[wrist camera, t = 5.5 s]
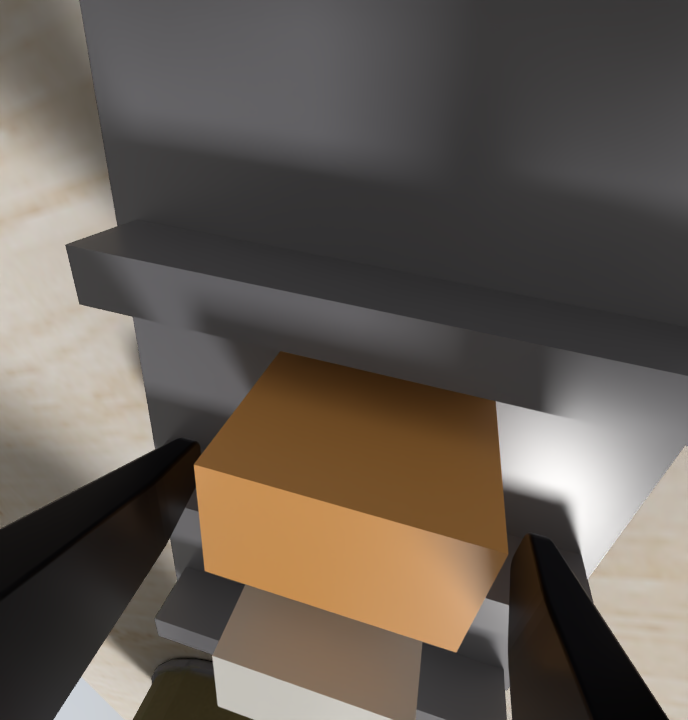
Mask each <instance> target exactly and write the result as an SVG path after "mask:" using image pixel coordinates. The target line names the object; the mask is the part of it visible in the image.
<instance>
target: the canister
mask: <svg viewBox="0 0 688 720" xmlns="http://www.w3.org/2000/svg"><path fill="white" fill-rule="evenodd" d="M133 720H254V719H251V718H248V717H246V716H243V715H240V714H238V713H235V712H232V711H229V710H227V709H224V708H221V707H219V706H218V704H217V695H216V686H215V677H214V668H213V662H209V661H204V660H199V659H172V660H170V661H168V662H166V663H164V664H162V665H160V666H158V667H157V669H156V670H155V672H154V674H153V676H152V685H151V687H150V689H149V691H148V693H147V695H146V696H145V698H144V700H143V702H142V704H141V706H140V707H139V709H138V711H137V713H136V715H135V717H134V718H133Z"/></svg>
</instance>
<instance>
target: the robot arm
mask: <svg viewBox="0 0 688 720" xmlns="http://www.w3.org/2000/svg"><path fill="white" fill-rule="evenodd" d="M200 456H201V447H200V444H199V442H198V441H196V440H192V439H188V438H185V437H180V438H177V439H175V440H173V441H171V442H169V443H167V444H165V445H163V446H161V447H159V448H157V449H155V450H153V451H151V452H149V453H147V454H145V455H143V456H141V457H139V458H137V459H136V460H134V461H132V462H130V463H128V464H126V465H124V466H122V467H120V468H118V469H116V470H114V471H112V472H110V473H108V474H106V475H104V476H102V477H100V478H98V479H97V480H95V481H93V482H91V483H89V484H87V485H85V486H83V487H81V488H79V489H77V490H75V491H73V492H71V493H69V494H67V495H65V496H63V497H61V498H59V499H57V500H56V501H54V502H52V503H50V504H48V505H46V506H44V507H42V508H40V509H38V510H36V511H34V512H32V513H30V514H28V515H26V516H24V517H22V518H20V519H18V520H17V521H15V522H13V523H11V524H9V525H7V526H5V527H3V528H1V529H0V720H53V719H54V718H55V716H56V715H57V713H58V712H59V710H60V708H61V707H62V705H63V704H64V702H65V701H66V699H67V698H68V696H69V695H70V693H71V691H72V690H73V688H74V687H75V685H76V684H77V682H78V681H79V679H80V678H81V676H82V675H83V673H84V671H85V670H86V668H87V667H88V665H89V664H90V662H91V661H92V659H93V658H94V656H95V654H96V653H97V651H98V650H99V648H100V647H101V645H102V644H103V642H104V641H105V639H106V637H107V636H108V634H109V633H110V631H111V630H112V628H113V627H114V625H115V624H116V622H117V620H118V619H119V617H120V616H121V614H122V613H123V611H124V610H125V608H126V607H127V605H128V603H129V602H130V600H131V599H132V597H133V596H134V594H135V593H136V591H137V590H138V588H139V586H140V585H141V583H142V582H143V580H144V579H145V577H146V576H147V574H148V573H149V571H150V569H151V568H152V566H153V565H154V563H155V562H156V560H157V559H158V557H159V556H160V554H161V552H162V551H163V549H164V547H165V546H166V544H167V542H168V540H169V539H170V537H171V535H172V533H173V531H174V529H175V527H176V525H177V523H178V521H179V519H180V517H181V515H182V513H183V511H184V509H185V508H186V506H187V504H188V502H189V500H190V498H191V496H192V494H193V492H194V490H195V488H196V481H195V471H194V464H195V462H196V461H197V460H198V458H199V457H200ZM508 668H509V682H510V695H511V708H512V720H669V719H668V717H667V716H666V714H665V713H664V711H663V710H662V708H661V707H660V705H659V703H658V702H657V700H656V699H655V697H654V696H653V694H652V693H651V691H650V690H649V688H648V687H647V685H646V684H645V682H644V680H643V679H642V677H641V676H640V674H639V673H638V671H637V670H636V668H635V667H634V665H633V664H632V662H631V660H630V659H629V657H628V656H627V654H626V653H625V651H624V650H623V648H622V647H621V645H620V644H619V642H618V641H617V639H616V637H615V636H614V634H613V633H612V631H611V630H610V628H609V627H608V625H607V624H606V622H605V621H604V619H603V618H602V616H601V614H600V613H599V611H598V610H597V608H596V607H595V605H594V604H593V602H592V601H591V599H590V598H589V596H588V594H587V593H586V591H585V590H584V588H583V587H582V585H581V584H580V582H579V581H578V579H577V578H576V576H575V575H574V573H573V571H572V570H571V568H570V567H569V565H568V564H567V562H566V561H565V559H564V558H563V556H562V555H561V553H560V551H559V550H558V548H557V547H556V545H555V544H554V542H553V541H552V540H551V539H550V538H548V537H546V536H542V535H538V534H535V533H530V532H529V533H527V534H525V536H524V537H523V539H522V541H521V543H520V545H519V547H518V548H517V550H516V552H515V554H514V556H513V558H512V561H511V567H510V592H509V622H508Z"/></svg>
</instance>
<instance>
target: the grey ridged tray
mask: <svg viewBox="0 0 688 720" xmlns="http://www.w3.org/2000/svg"><path fill="white" fill-rule="evenodd" d="M79 1H80V7H81V13H82V19H83V24H84V30H85V36H86V42H87V48H88V54H89V60H90V66H91V72H92V78H93V84H94V90H95V96H96V101H97V107H98V113H99V119H100V125H101V131H102V137H103V143H104V149H105V155H106V161H107V167H108V173H109V179H110V184H111V190H112V196H113V202H114V208H115V214H116V220H117V227H114V228H111V229H108V230H106V231H103V232H100V233H97V234H94V235H92V236H89V237H86V238H83V239H80V240H77V241H75V242H72V243H69V244H66V245H65V246H66V250H67V254H68V258H69V262H70V267H71V271H72V275H73V279H74V283H75V287H76V292H77V296H78V300H79V304H81V305H85V306H89V307H93V308H98V309H102V310H106V311H111V312H115V313H119V314H124V315H128V316H132V317H133V321H134V327H135V333H136V339H137V344H138V350H139V356H140V362H141V368H142V374H143V380H144V386H145V392H146V398H147V404H148V410H149V416H150V422H151V427H152V433H153V439H154V445H155V449H157V448H159V447H161V446H163V445H165V444H167V443H169V442H171V441H173V440H175V439H177V438H180V437H185V438H188V439H192V440H196V441H198V442H199V444H200V447H201V454H202V453H203V452H204V450H205V449H206V448H207V446H208V445H209V444H210V443H211V441H212V440H213V439H214V437H215V436H216V435H217V433H218V432H219V431H220V429H221V428H222V427H223V425H224V424H225V423H226V422H227V420H228V419H229V418H230V416H231V415H232V414H233V412H234V411H235V410H236V408H237V407H238V406H239V404H240V403H241V402H242V401H243V399H244V398H245V397H246V395H247V394H248V393H249V391H250V390H251V389H252V387H253V386H254V385H255V383H256V382H257V381H258V380H259V378H260V377H261V376H262V374H263V373H264V372H265V370H266V369H267V368H268V366H269V365H270V364H271V362H272V361H273V360H274V359H275V357H276V356H277V355H278V353H279V352H280V351H282V352H287V353H291V354H295V355H299V356H304V357H308V358H312V359H317V360H321V361H325V362H330V363H334V364H338V365H342V366H347V367H351V368H355V369H360V370H364V371H368V372H372V373H377V374H381V375H385V376H390V377H394V378H398V379H402V380H407V381H411V382H415V383H420V384H424V385H428V386H432V387H437V388H441V389H445V390H450V391H454V392H458V393H463V394H467V395H471V396H475V397H480V398H484V399H488V400H493V401H496V411H497V423H498V435H499V447H500V458H501V470H502V482H503V494H504V506H505V518H506V530H507V542H508V556H507V558H506V560H505V562H504V564H503V566H502V567H501V569H500V571H499V573H498V575H497V577H496V579H495V581H494V583H493V584H492V586H491V588H490V590H489V592H488V594H487V596H486V598H485V600H484V601H483V603H482V605H481V607H480V609H479V611H478V613H477V615H476V616H475V618H474V620H473V622H472V624H471V626H470V628H469V630H468V632H467V633H466V635H465V637H464V639H463V641H462V643H461V645H460V647H459V649H458V650H457V652H453V651H450V650H447V649H444V648H440V647H437V646H434V645H431V644H428V643H425V642H422V653H421V664H420V675H419V686H418V697H417V709H416V720H507V716H506V699H505V690H508V688H509V687H510V682H509V668H508V622H509V592H510V567H511V561H512V558H513V556H514V554H515V552H516V550H517V548H518V547H519V545H520V543H521V541H522V539H523V537H524V536H525V534H527V533H529V532H530V533H535V534H538V535H542V536H546V537H548V538H550V539H551V540H552V541H553V542H554V544H555V545H556V547H557V548H558V550H559V551H560V553H561V555H562V556H563V558H564V559H565V561H566V562H567V564H568V565H569V567H570V568H571V570H572V571H573V573H574V575H575V576H576V578H577V579H578V581H579V582H580V584H581V585H582V587H583V588H584V590H585V591H586V593H587V594H588V596H589V598H590V599H591V601H592V602H593V599H592V595H591V591H590V587H589V583H588V578H589V577H590V576H591V574H592V573H593V571H594V570H595V569H596V567H597V566H598V565H599V563H600V562H601V560H602V559H603V558H604V556H605V555H606V554H607V552H608V551H609V549H610V548H611V547H612V545H613V544H614V543H615V541H616V540H617V538H618V537H619V536H620V534H621V533H622V532H623V530H624V529H625V527H626V526H627V525H628V523H629V522H630V521H631V519H632V518H633V516H634V515H635V514H636V512H637V511H638V510H639V508H640V507H641V505H642V504H643V503H644V501H645V500H646V499H647V497H648V496H649V494H650V493H651V492H652V490H653V489H654V488H655V486H656V485H657V483H658V482H659V481H660V479H661V478H662V477H663V475H664V474H665V472H666V471H667V470H668V468H669V467H670V466H671V464H672V463H673V461H674V460H675V459H676V457H677V456H678V455H679V453H680V452H681V450H682V449H683V448H684V446H685V445H686V446H688V0H79ZM170 540H171V546H172V552H173V558H174V564H175V570H176V576H177V582H176V584H175V586H174V587H173V589H172V591H171V592H170V594H169V596H168V597H167V599H166V600H165V602H164V604H163V605H162V607H161V609H160V610H159V612H158V614H157V615H156V617H155V618H154V619H155V623H156V627H157V631H158V635H159V636H161V637H164V638H166V639H169V640H172V641H175V642H178V643H181V644H183V645H186V646H189V647H192V648H195V649H198V650H200V651H203V652H206V653H209V654H212V655H213V653H214V651H215V649H216V646H217V644H218V642H219V640H220V638H221V636H222V634H223V631H224V629H225V627H226V625H227V623H228V621H229V619H230V616H231V614H232V612H233V610H234V608H235V606H236V604H237V601H238V599H239V597H240V595H241V593H242V591H243V589H244V586H245V584H243V583H240V582H237V581H234V580H231V579H227V578H224V577H221V576H218V575H215V574H212V573H209V572H206V571H205V568H204V559H203V549H202V539H201V529H200V520H199V510H198V500H197V491H196V488H195V490H194V492H193V494H192V496H191V498H190V500H189V502H188V504H187V506H186V508H185V509H184V511H183V513H182V515H181V517H180V519H179V521H178V523H177V525H176V527H175V529H174V531H173V533H172V535H171V537H170Z"/></svg>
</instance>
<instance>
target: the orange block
mask: <svg viewBox="0 0 688 720" xmlns="http://www.w3.org/2000/svg"><path fill="white" fill-rule="evenodd" d="M194 471H195V481H196V491H197V500H198V510H199V520H200V529H201V539H202V549H203V559H204V568H205V571H206V572H209V573H212V574H215V575H218V576H221V577H224V578H227V579H231V580H234V581H237V582H240V583H243V584H246V585H249V586H252V587H255V588H258V589H261V590H265V591H268V592H271V593H274V594H277V595H280V596H283V597H286V598H289V599H292V600H295V601H298V602H302V603H305V604H308V605H311V606H314V607H317V608H320V609H323V610H326V611H329V612H332V613H336V614H339V615H342V616H345V617H348V618H351V619H354V620H357V621H360V622H363V623H366V624H369V625H373V626H376V627H379V628H382V629H385V630H388V631H391V632H394V633H397V634H400V635H403V636H407V637H410V638H413V639H416V640H419V641H422V642H425V643H428V644H431V645H434V646H437V647H440V648H444V649H447V650H450V651H453V652H457V650H458V649H459V647H460V645H461V643H462V641H463V639H464V637H465V635H466V633H467V632H468V630H469V628H470V626H471V624H472V622H473V620H474V618H475V616H476V615H477V613H478V611H479V609H480V607H481V605H482V603H483V601H484V600H485V598H486V596H487V594H488V592H489V590H490V588H491V586H492V584H493V583H494V581H495V579H496V577H497V575H498V573H499V571H500V569H501V567H502V566H503V564H504V562H505V560H506V558H507V556H508V542H507V530H506V518H505V506H504V494H503V482H502V470H501V458H500V447H499V435H498V423H497V411H496V401H493V400H488V399H484V398H480V397H475V396H471V395H467V394H463V393H458V392H454V391H450V390H445V389H441V388H437V387H432V386H428V385H424V384H420V383H415V382H411V381H407V380H402V379H398V378H394V377H390V376H385V375H381V374H377V373H372V372H368V371H364V370H360V369H355V368H351V367H347V366H342V365H338V364H334V363H330V362H325V361H321V360H317V359H312V358H308V357H304V356H299V355H295V354H291V353H287V352H282V351H280V352H279V353H278V355H277V356H276V357H275V359H274V360H273V361H272V362H271V364H270V365H269V366H268V368H267V369H266V370H265V372H264V373H263V374H262V376H261V377H260V378H259V380H258V381H257V382H256V383H255V385H254V386H253V387H252V389H251V390H250V391H249V393H248V394H247V395H246V397H245V398H244V399H243V401H242V402H241V403H240V404H239V406H238V407H237V408H236V410H235V411H234V412H233V414H232V415H231V416H230V418H229V419H228V420H227V422H226V423H225V424H224V425H223V427H222V428H221V429H220V431H219V432H218V433H217V435H216V436H215V437H214V439H213V440H212V441H211V443H210V444H209V445H208V446H207V448H206V449H205V450H204V452H203V453H202V454H201V456H200V457H199V458H198V460H197V461H196V462H195V464H194Z"/></svg>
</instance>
